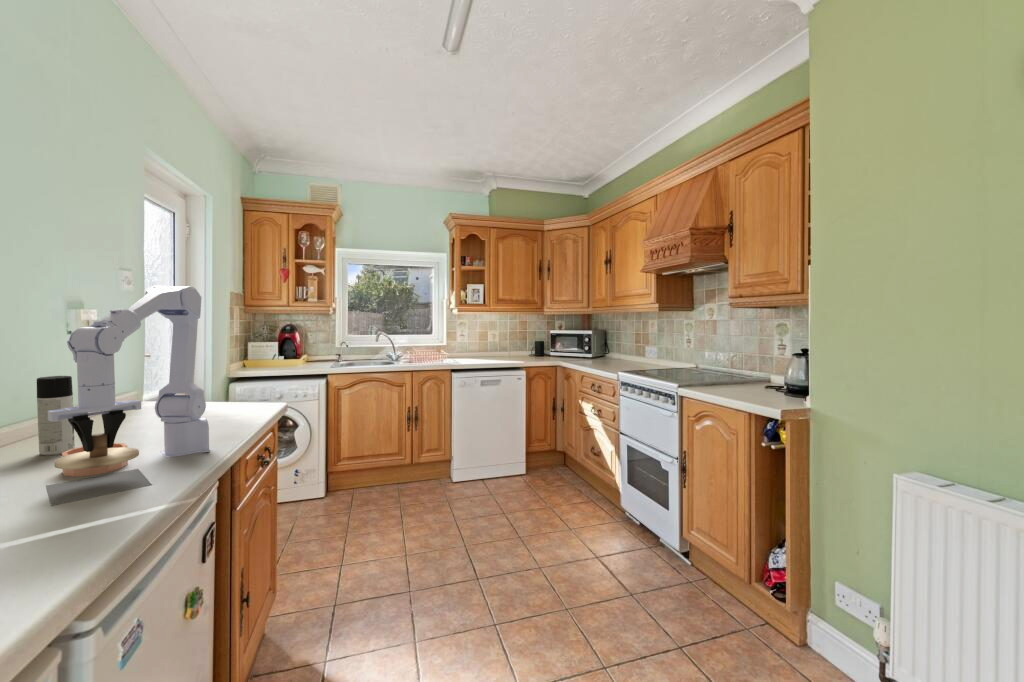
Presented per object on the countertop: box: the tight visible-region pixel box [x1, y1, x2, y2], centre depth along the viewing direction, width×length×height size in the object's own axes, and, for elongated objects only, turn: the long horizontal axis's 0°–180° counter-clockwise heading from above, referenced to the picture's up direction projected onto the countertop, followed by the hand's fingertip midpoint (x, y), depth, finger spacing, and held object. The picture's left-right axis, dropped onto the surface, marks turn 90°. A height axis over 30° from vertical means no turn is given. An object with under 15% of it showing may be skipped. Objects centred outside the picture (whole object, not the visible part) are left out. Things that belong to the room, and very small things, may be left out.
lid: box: [54, 432, 140, 470], centre depth 95 cm, size 13×13×5 cm
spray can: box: [36, 375, 76, 456], centre depth 119 cm, size 7×7×20 cm
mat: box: [45, 468, 153, 507], centre depth 95 cm, size 15×15×1 cm
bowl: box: [61, 442, 129, 478], centre depth 106 cm, size 11×11×5 cm
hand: (98, 449), depth 95 cm, fingers closed on lid, 3 cm apart
